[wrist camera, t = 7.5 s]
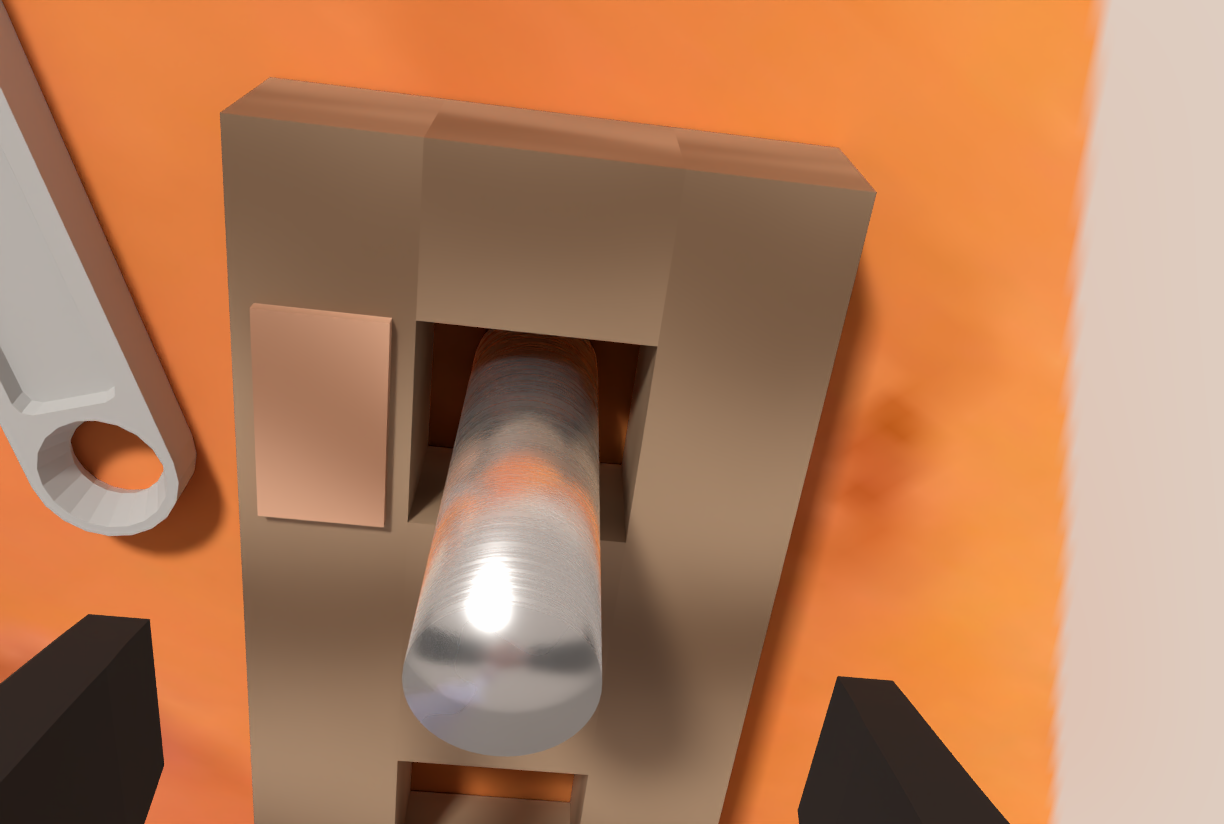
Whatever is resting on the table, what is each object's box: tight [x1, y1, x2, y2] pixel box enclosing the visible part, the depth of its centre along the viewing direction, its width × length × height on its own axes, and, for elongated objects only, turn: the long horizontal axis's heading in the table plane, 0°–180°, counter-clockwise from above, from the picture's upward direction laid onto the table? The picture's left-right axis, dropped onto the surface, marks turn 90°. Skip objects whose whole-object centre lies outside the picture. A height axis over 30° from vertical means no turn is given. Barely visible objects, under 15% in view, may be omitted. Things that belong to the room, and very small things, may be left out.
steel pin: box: [402, 328, 602, 757], centre depth 15 cm, size 2×2×8 cm
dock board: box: [220, 77, 877, 824], centre depth 19 cm, size 18×9×3 cm, turn 173°
